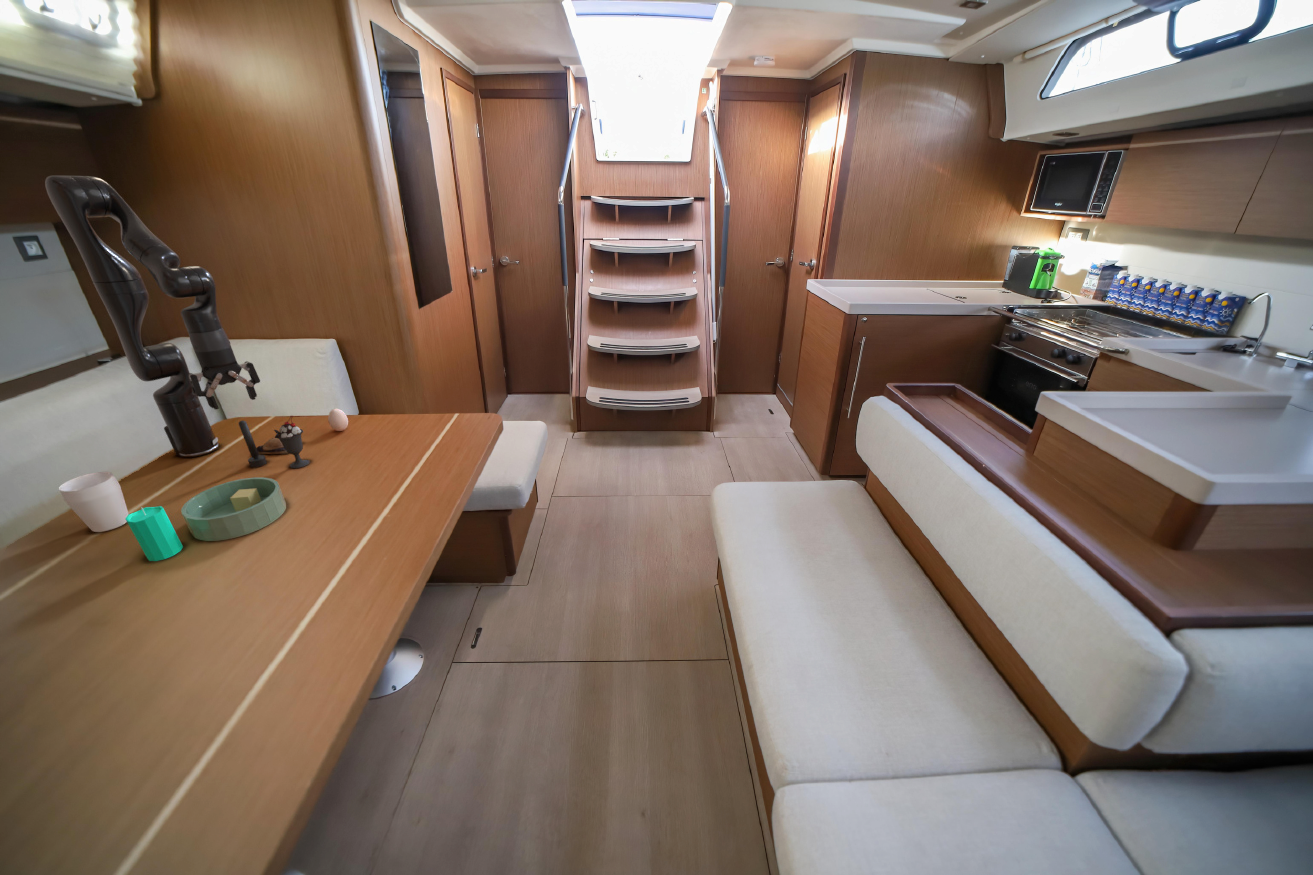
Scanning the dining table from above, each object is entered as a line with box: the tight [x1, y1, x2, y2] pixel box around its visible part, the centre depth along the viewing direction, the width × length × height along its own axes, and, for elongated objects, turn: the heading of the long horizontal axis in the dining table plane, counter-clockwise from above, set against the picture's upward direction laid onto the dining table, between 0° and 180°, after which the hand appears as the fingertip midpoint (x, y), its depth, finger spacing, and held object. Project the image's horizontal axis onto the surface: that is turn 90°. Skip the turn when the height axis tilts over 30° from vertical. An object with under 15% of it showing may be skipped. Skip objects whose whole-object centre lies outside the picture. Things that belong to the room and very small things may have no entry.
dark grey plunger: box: [238, 420, 268, 468], centre depth 144 cm, size 4×4×14 cm
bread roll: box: [256, 437, 289, 455], centre depth 155 cm, size 11×8×4 cm
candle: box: [126, 505, 184, 562], centre depth 108 cm, size 6×6×12 cm
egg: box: [327, 408, 349, 432], centre depth 166 cm, size 6×6×8 cm
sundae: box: [273, 415, 310, 469], centre depth 144 cm, size 7×7×15 cm
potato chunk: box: [230, 488, 261, 511], centre depth 125 cm, size 4×4×4 cm
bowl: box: [180, 476, 287, 542], centre depth 122 cm, size 19×19×6 cm
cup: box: [58, 471, 130, 533], centre depth 117 cm, size 9×9×12 cm
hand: (234, 403), depth 138 cm, fingers open, 8 cm apart
